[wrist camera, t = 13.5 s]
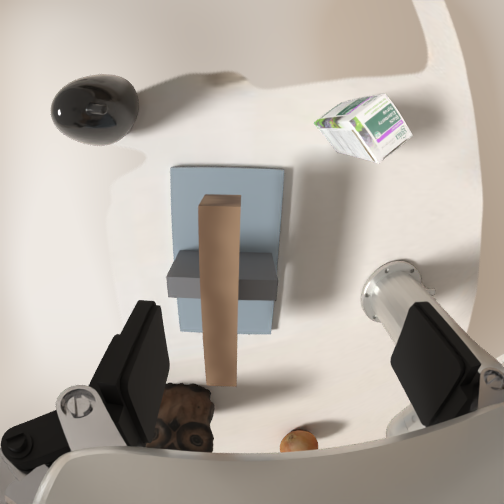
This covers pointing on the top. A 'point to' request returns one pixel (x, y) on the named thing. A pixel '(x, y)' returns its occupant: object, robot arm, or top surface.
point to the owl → (184, 419)
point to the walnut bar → (219, 285)
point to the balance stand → (251, 241)
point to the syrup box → (365, 128)
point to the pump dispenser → (96, 109)
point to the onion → (298, 442)
